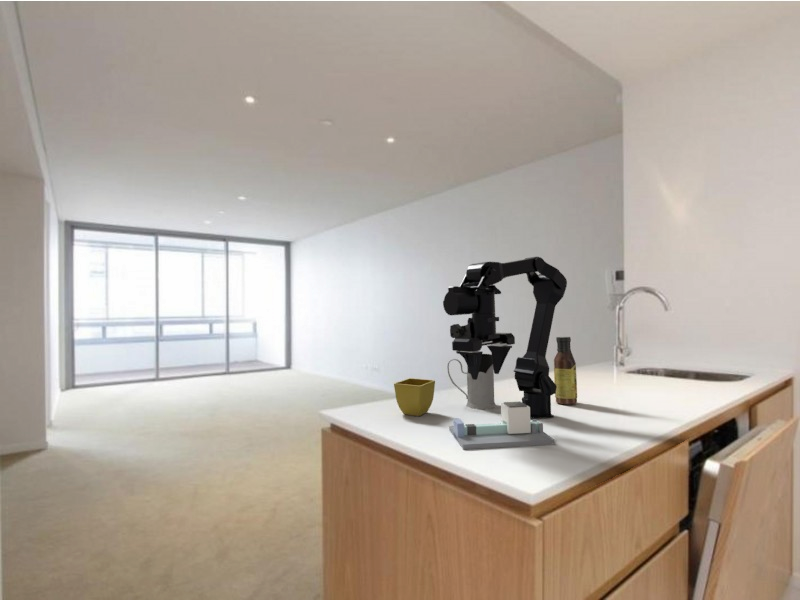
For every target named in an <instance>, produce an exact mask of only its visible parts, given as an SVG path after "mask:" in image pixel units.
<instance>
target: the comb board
mask: <svg viewBox="0 0 800 600" xmlns="http://www.w3.org/2000/svg"><path fill="white" fill-rule="evenodd" d="M452 421H453V425H449V426H448V430H449V432H450V433H451V435H452V436H453V438H454V439H455V440H456V442H457V443H458V444H459V445H460V447H461V448H462V449H463V450H475V449H476V450H479V449H492V448H509V447H511V448H512V447H529V446H531V447H532V446H547V445H548V446H549V445H556V439H555V438H553V436H551V435H549V434H548V433H546V432H545V431H544V423H542V422H539V421H537V418H531V421H530V428H531V433H517V434H508V433H507V423H501V422H498V423H480V424H479V423H477V424H474V423H470V424H465V423H464V422H463V420H461V418H453V419H452Z"/></svg>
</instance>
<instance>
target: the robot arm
mask: <svg viewBox="0 0 800 600" xmlns="http://www.w3.org/2000/svg"><path fill="white" fill-rule="evenodd" d="M537 272H538V273H539V274H538V273H537ZM524 274H526V278H527V281H528V283H529V284H530V285H531V286H533V288H532V290H533V291H532V294H533V296H534V299H535V301H536V304H535V308H534V315H533V320H532V324H531V329H530V334H529V338H528V343H527V349H526V352H525V354H524V355H523V356H522V357H521V356H518V357H517V358H516V361H515V368H514V369H513V373H514V380H515V382H516V385H517V388H518V391H519V392H523V397H521V402H522V403H524V404H525V405H527V406H529V407H530V419H548V418H550V419H551V418H554V417H555V416H554V414H553V413H552V403H551V402H552V401H551V400H552V397H551V396H553V395H555V393H556V388H557V386H556V384H555V382H554V380H552V378H551V377H550V366H549V364H548V360H547V357H546V355H547V350H548V346H549V339H550V335H551V329H552V325H553V320H554V315H555V309H556V306H557V305H558V304H559V302H560V301H561V300H562V299H563V298H564V296H565V292H566V289H567V285H568V281H567V278H566V277H565V275H564V274H563V273H562V272H561V271H560V270H559V269H558V268H557V267H555V266H553V265H551V264H549V263H548V262H546V261H545V260H544V259H543V258H542V257H540V256H532V257H531V256H530V257H526V258H523V259H518V260H513V261H512V260H511V261H508V262H499V261H483V262H477V263H471V264H469V265H468V266H467V268H466V272H465V275H464V277H463V278H462V280H461V282H460V284H459V286H455V285H454V286H448V288H447V293H446V294H445V295H444V298H443V301H442V304H443V310H444V312H445V314H447V315H448V316H462V315H471V317H468V319H467V324H465V325H460V324H459V323H455V324H452V325H450V326H449V333H450V335H449V336H450V337H451V338H452V339H453V340H452V342H451V345H452V346H451V349H452V351H454V352H455V353H456V354H458V355H460V356H461V357H462V358H463V359H464V361H465V363H466V367H467V366H468V369H469V371H470V374H471V376H472V379H473V380H477V378H478V374H479V369H480V363H481V358H482V354H484V353H483V351H481V349H482V347H484V346H486V347H487V349H488V350H489V352H490V353H491V355H492V361H493V369H494V374H495V375H499V374H500V372H501V369H502V368H503V364H504V362H505V361H506V358H507V356H508V354H509V352H510V350H511V349H512V348H513V345H515V344H516V340H515V339H516V338H515V335H514V334H513V333H512V332H497V322H499V321H500V316H496V301H495V300H496V298H495V297H496V295H502V291H501V290H500V289H499V288H497V287H496V284H498V283H499V282H502V281H503V280H504V279H506V278H508V277H513V276H519V275H524Z"/></svg>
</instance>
